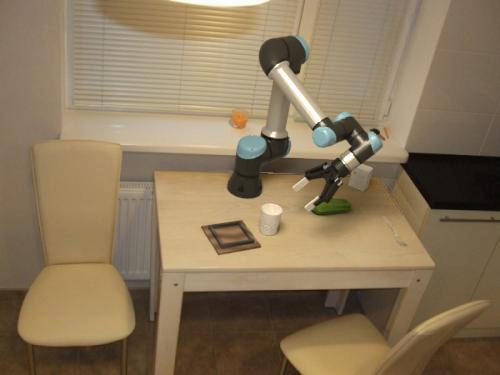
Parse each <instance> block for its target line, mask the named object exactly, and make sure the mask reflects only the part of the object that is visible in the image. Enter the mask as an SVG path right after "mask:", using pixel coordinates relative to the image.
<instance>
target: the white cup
mask: <svg viewBox="0 0 500 375" xmlns="http://www.w3.org/2000/svg"><path fill="white" fill-rule="evenodd" d="M260 212H261V213H260V219H259V228H258V229H259V232H260V233H261V234H263V236H264V235H265V236H267V237H268V236H274V235H276V234H277V232H278V227H279V226H280V222H281V218H282V214H283V208H282V207H281V206H279V205H278V204H276V203H271V202H270V203H265V204H263V205H262V206H261V210H260Z"/></svg>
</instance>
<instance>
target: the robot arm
mask: <svg viewBox="0 0 500 375" xmlns="http://www.w3.org/2000/svg"><path fill="white" fill-rule="evenodd" d="M309 57H310V48H309V45H308V44H307V41H306V40H305V39H304V38H303V37H302V36H300V35H297V34H295V35H293V34H292V35H291V34H290V35H288V34H287V35H285V36H279V37H272V38H268V39H266V40H265V41H264V42H263V43H262V44H261V46H260V48H259V51H258V62H259V65H260V68H261V70H262V72H263V73H264V74H265V75H266V77H267V79H268V80H272V84H271V85H272V86H271V92H270V97H269V104H268V109H267V116H266V122H265V125H264V126H263V127H262V128H261V129H260V130H261V131H260V136H259V135H256V134H255V135H254V134H253V135H252V134H251V135H249V134H248V135H245V136H243V137H241V138H240V139H239V140H238V142H237V145H236V150H235V152H236V153H235V159H234V166H233V172H232V173H231V174H230V177H229V179H228V181H227V185H226V188H227V191H228V192H229V193H230V194H232V195H234V197H235V196H236V197H237V198H242V199H255V198H258V197H259V196H260V195H262V194H263V187H264V186H263V182H262V170H263V167H264V166H266V165H269V164H271V163H274V162H278V161H280V160H282V159H284V158H285V157H287V156H288V155H289V153H290V151H291V149H292V141H291V140H290V139H291V138H290V136H289V132H288V131H287V129H286V128H287V123H288V118H289V113H290V108H291V105H292V106H293V108H294V109H295V110H296V111H297V113H298V114H299V115H300V117H301V118H302V119H303V121H305V123H306V124H307V126H308V127H309V128H310V129H311V131H312V140H313V141H312V142H313V144H314V145H316V146H317V147H319V148H323V149H324V148H325V149H326V148H329V147H332V146H333V145H336V144H338V143H341V142H344V141H346V142H347V143H348V144H349V146H350V147H349V148H348V149H346V150H345V151H344V152H342V153H341V154H340V155H339V157H336V158H335V159H333V160H332V161H331V162H330V164H328V162H327V161H326V162H325V161H324V162H323V163H322V164H319V165H317V166H315V167H312V168H310V169H307V170H305V171H304V174H305V175H304V176H303V177H302V178H300V180H298V181H297V182H296V183H295V184H294V185H293V186H291V187H292V190H294V192H295V193H297V192H298V191H300V190H301V189H302V188H304V187H305V186H306V185H308V184H309V183H310V181H312V180H318V179H324V181H325V184H324V187H323V189H322V191H321V194H320V195H318V196H316V197H314V198H315V199H314V198H313V199H311V201H309V202H308V203H307V204H306V205H305V206H304V209H305V210H306V211H307V212H308V213H309V212H311V211H312V209H313V208H314V207H317V206H318V205H320V204H321V203H322V202H326V203H327V204H328V203H329V202H330V200H331V199H332V198H334V196H335V195H336V193H337V191H338V190H339V189H340V188H341V187H342V186H343V184H344V182H343V181H342V180H341V178H342V179H344V178H346V177H347V176H348V175H351V172H352V171H353V170H355V169H356V168H357V167H358V166H360V165H361V164H364V163H365V162H367V161H368V160H369V159H370V158H371V157H373V156H374V155H376V153H377V152H379V151H380V150H381V149H382V148H383V147H384V144H383V142H382V140H381V139H380V137H379V136H378V135H377V134H376V133H375V132H374V131H369V132H367V131H366V130H365V129H364V128H363V127H362V125H361V124H360V122H359V121H357V119H356V118H355V117H354V116H353V115H352V114H351V112H349V111H346V110H345V111H342V112H341V113H339V114H337V116H335V118H334V119H333V121H332V120H331V118H330V117H329V116H328V114H326V111H324V110H323V108H322V107H321V106H320V105H319V103H318V102H317V101H316V99H315V98H314V97H313V96H312V94H311V93H310V92H309V90H308V89H307V88H306V86H305V85H304V84H303V83H302V81H301V80H300V79H299V77H298V75H300V73H301V70H302V65H304V64H305V63H306V62H307V61H308V60H309ZM327 198H328V199H327Z"/></svg>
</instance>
